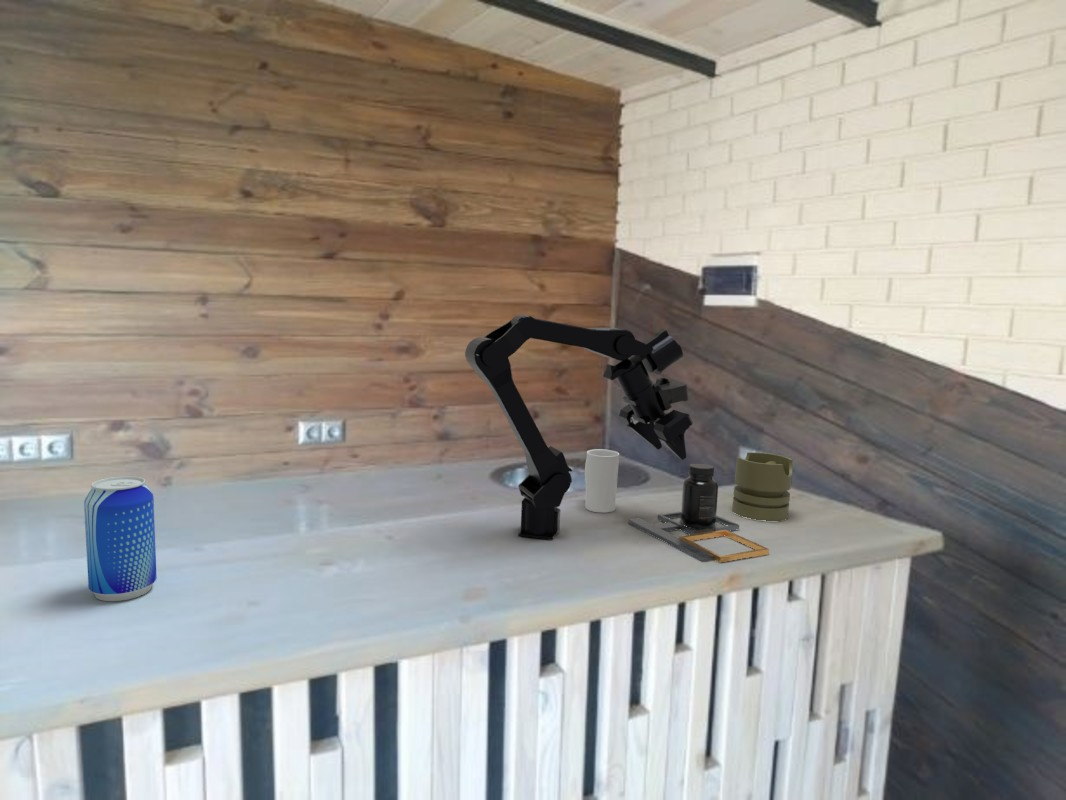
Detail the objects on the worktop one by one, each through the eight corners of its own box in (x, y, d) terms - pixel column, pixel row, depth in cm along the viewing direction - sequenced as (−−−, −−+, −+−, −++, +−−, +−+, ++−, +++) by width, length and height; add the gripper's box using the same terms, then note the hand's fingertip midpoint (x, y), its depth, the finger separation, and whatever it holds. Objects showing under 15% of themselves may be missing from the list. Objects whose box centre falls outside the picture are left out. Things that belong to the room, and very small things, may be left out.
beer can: (109, 609, 96) (103, 494, 94) (77, 593, 101) (70, 483, 98) (169, 588, 104) (165, 481, 101) (136, 575, 108) (132, 471, 106)
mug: (622, 511, 150) (625, 455, 148) (594, 514, 147) (597, 457, 145) (597, 498, 158) (600, 445, 157) (570, 501, 156) (573, 447, 154)
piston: (728, 457, 149) (748, 450, 158) (723, 513, 151) (744, 502, 160) (782, 467, 143) (800, 458, 151) (776, 525, 144) (795, 513, 153)
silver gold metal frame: (708, 565, 121) (709, 559, 121) (628, 523, 142) (628, 518, 142) (787, 551, 130) (788, 545, 129) (700, 513, 150) (701, 508, 150)
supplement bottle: (716, 522, 145) (721, 464, 143) (713, 532, 138) (718, 471, 137) (682, 517, 147) (686, 460, 145) (677, 527, 141) (682, 467, 139)
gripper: (697, 370, 129) (730, 440, 134) (647, 359, 147) (678, 422, 152) (649, 403, 127) (684, 473, 132) (603, 389, 144) (636, 451, 149)
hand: (671, 453), depth 141 cm, fingers open, 9 cm apart
